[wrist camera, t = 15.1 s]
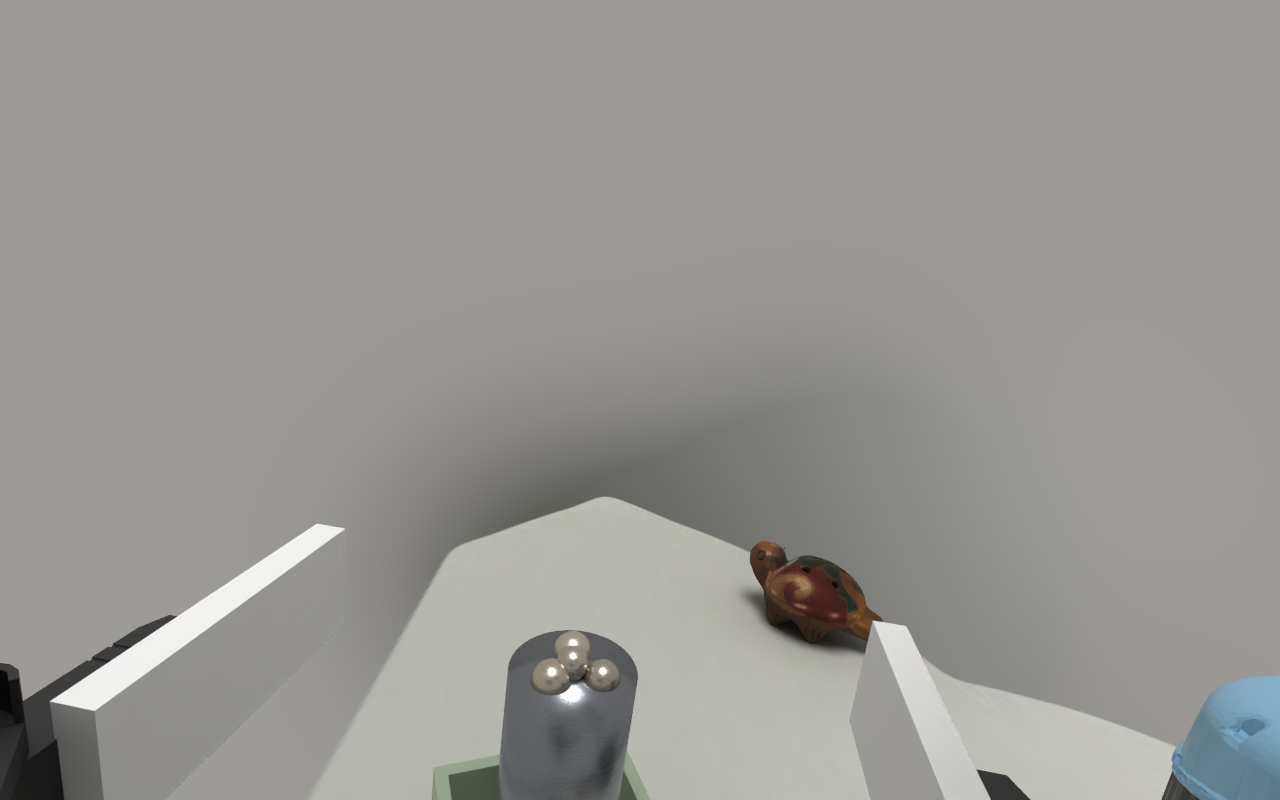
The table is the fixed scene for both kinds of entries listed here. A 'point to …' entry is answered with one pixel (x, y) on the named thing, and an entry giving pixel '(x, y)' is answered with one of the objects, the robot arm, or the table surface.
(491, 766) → the bin
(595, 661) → the can
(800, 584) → the decorative turtle
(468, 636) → the table surface
